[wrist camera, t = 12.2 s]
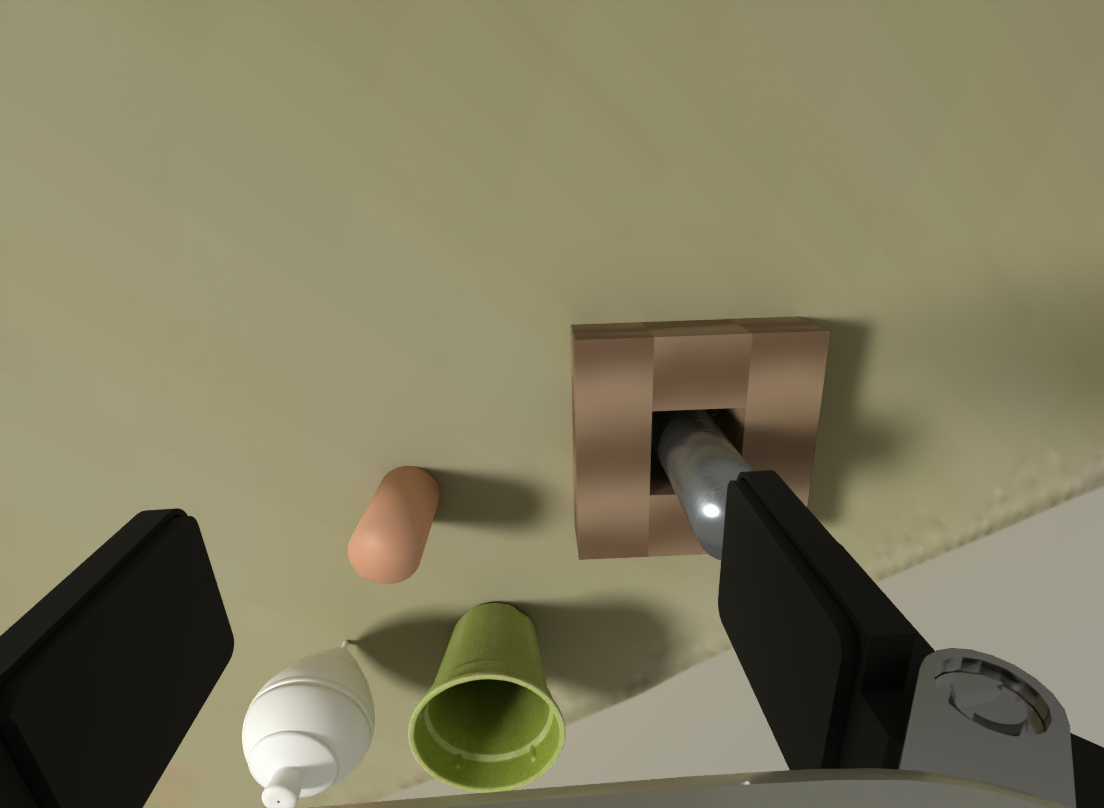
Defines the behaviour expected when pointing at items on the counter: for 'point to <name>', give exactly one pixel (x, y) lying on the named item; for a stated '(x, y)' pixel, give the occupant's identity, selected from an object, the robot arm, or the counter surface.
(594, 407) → the socket block
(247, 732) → the spinning top
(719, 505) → the long pin
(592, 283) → the counter surface
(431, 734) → the plant pot
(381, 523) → the short pin
